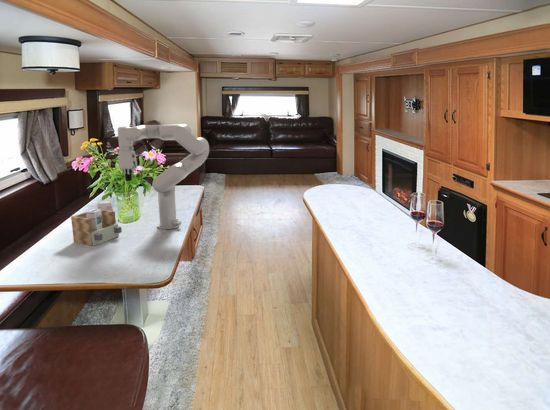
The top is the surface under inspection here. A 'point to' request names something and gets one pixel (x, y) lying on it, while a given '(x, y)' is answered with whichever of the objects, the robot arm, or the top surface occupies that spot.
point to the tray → (105, 234)
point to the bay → (89, 226)
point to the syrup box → (95, 219)
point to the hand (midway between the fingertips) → (128, 180)
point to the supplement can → (105, 205)
